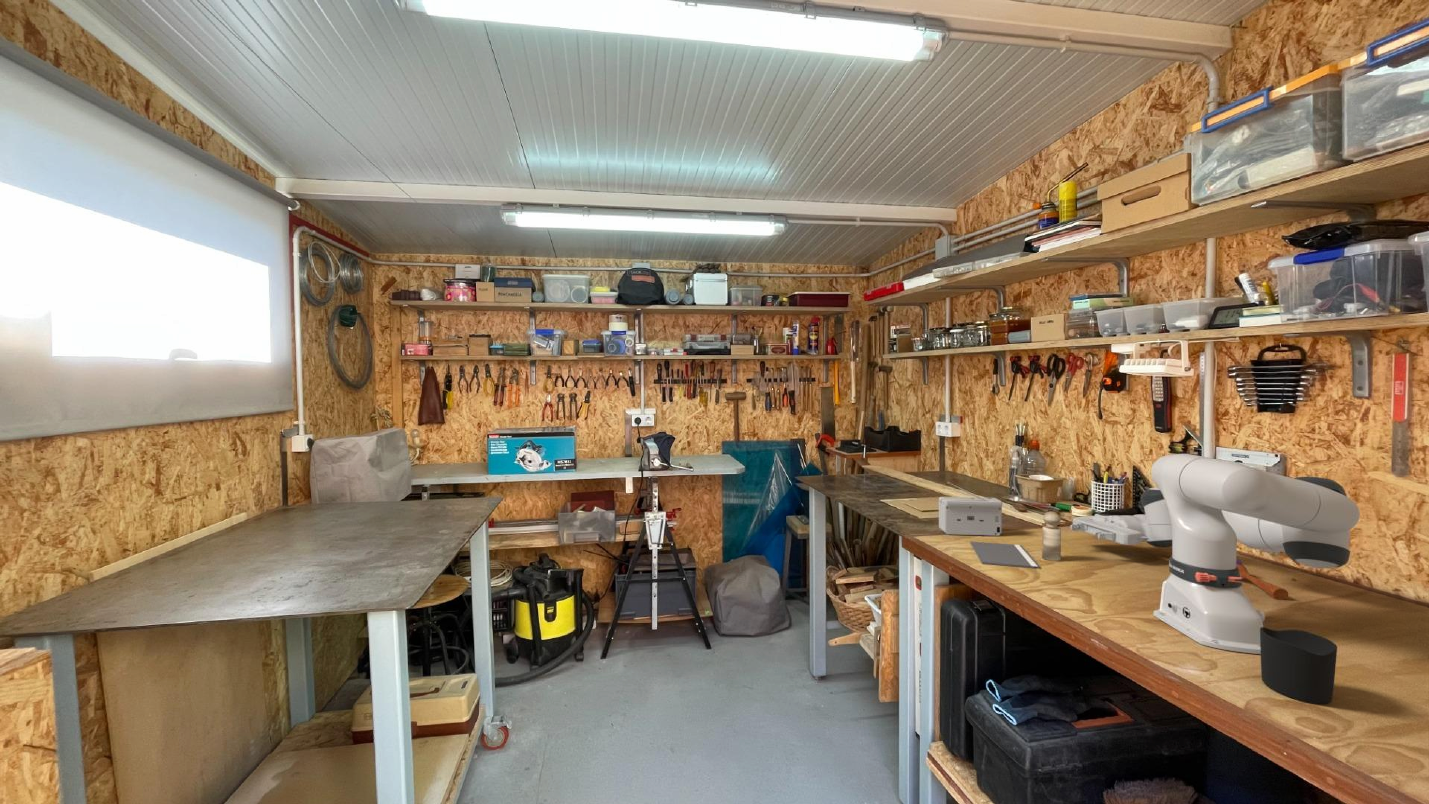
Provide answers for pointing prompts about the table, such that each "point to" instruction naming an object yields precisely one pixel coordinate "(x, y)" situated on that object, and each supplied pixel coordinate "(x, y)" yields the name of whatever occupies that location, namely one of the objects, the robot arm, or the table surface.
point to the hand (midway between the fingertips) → (1084, 531)
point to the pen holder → (1298, 664)
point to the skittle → (1051, 537)
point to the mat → (1003, 555)
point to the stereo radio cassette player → (970, 515)
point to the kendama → (1263, 583)
